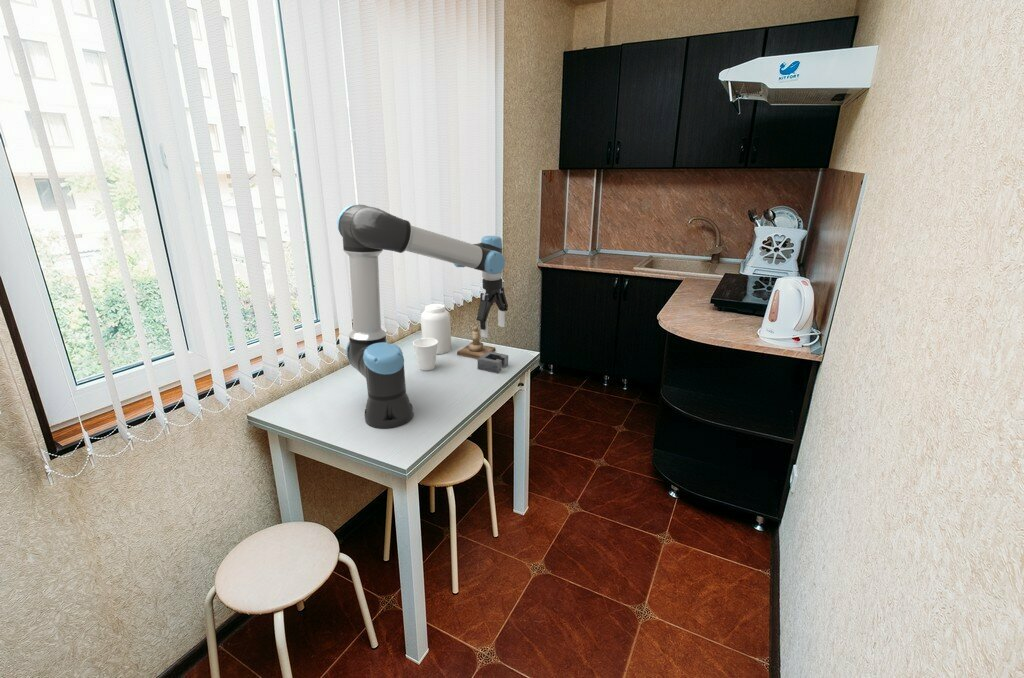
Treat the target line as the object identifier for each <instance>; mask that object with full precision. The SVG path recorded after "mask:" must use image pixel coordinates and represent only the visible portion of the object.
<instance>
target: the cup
mask: <svg viewBox="0 0 1024 678" xmlns="http://www.w3.org/2000/svg"><path fill="white" fill-rule="evenodd" d="M437 344H438V340H436V339H433V338H422V337H421V338H417V339H415V340H413V341H412V346H413V349H414V352H415V357H416V360H417V365H418V368H419V370H421V371H431V370H433V369H434V368H435V366H436V360H437V358H436V357H437V354H436V351H437Z"/></svg>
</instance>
